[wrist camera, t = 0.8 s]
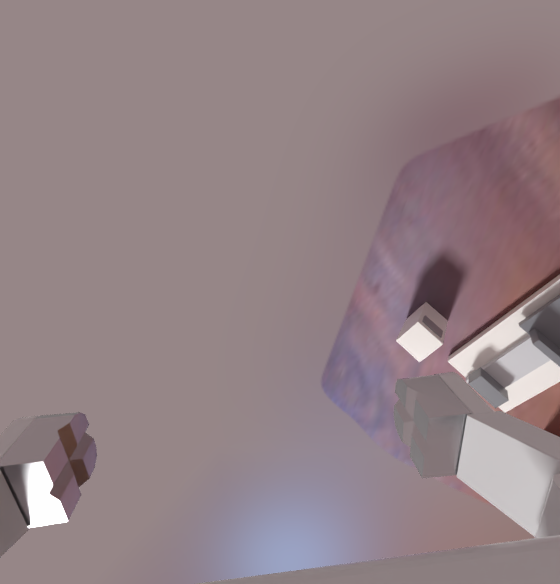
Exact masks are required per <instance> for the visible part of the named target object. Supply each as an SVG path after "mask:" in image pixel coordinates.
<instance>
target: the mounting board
mask: <svg viewBox="0 0 560 584" xmlns="http://www.w3.org/2000/svg"><path fill="white" fill-rule="evenodd" d="M559 294H560V274H559V275H558V276H557V277H555V278H554V279H553V280H551V281H550V282H549V283H547V284H546V285H544V286H543V287H542V288H540V289H539V290H538V291H536V292H535V293H534V294H532V295H531V296H530V297H528V298H527V299H526V300H524V301H523V302H522V303H520V304H519V305H517V306H516V307H515V308H513V309H512V310H511V311H509V312H508V313H507V314H505V315H504V316H503V317H501V318H500V319H499V320H497V321H496V322H495V323H493V324H492V325H490V326H489V327H488V328H486V329H485V330H484V331H482V332H481V333H480V334H478V335H477V336H476V337H474V338H473V339H472V340H470V341H469V342H468V343H466V344H465V345H463V346H462V347H461V348H459V349H458V350H457V351H455V352H454V353H453V354H451V355H450V356H449V357H448V362H449V363H450V364H451V365H452V366H453V367H455V368H456V369H457V370H458V371H459V372H460V373H461V374H462V375H463V376H465V377H468V376H469V375H470V374H471V373H472V372H474V371H475V370H477V369H478V368H480V367H482V366H484V365H485V364H487V363H488V362H490V361H491V360H493V359H494V358H496V357H497V356H499V355H500V354H502V353H503V352H504V351H506V350H507V349H509V348H510V347H512V346H513V345H515V344H516V343H518V342H519V341H521V340H522V339H524V338H525V337H527V336H528V335H529V334H528V333H527V332H526V331H524V330H523V329H522V328H521V327H520V326H519V324H518V323H519V322H521V321H522V320H524V319H525V318H526V317H528V316H529V315H531V314H532V313H533V312H535V311H536V310H538V309H539V308H540V307H542V306H543V305H545V304H546V303H548V302H549V301H550V300H552V299H553V298H555V297H556V296H557V295H559ZM558 382H560V367H559V366H558V365H557V364H556V363H554V362H553V361H552V360H550V361H548V362H547V363H545V364H543V365H542V366H540V367H538V368H537V369H535V370H533V371H532V372H530V373H529V374H527V375H525V376H524V377H522V378H520V379H519V380H517V381H515V382H514V383H512V384H511V385H509V386H507V387H506V388H505V389H506V390H507V391H508V399H509V401H507V402H505V403H504V404H502V405H500V406H498V407H499V408H500V409H501V410H502V411H504V412H507V411H509V410H510V409H512V408H514V407H516V406H517V405H519V404H521V403H523V402H525V401H526V400H528V399H530V398H532V397H533V396H535V395H537V394H539V393H540V392H542V391H544V390H546V389H547V388H549V387H551V386H553V385H555V384H556V383H558Z"/></svg>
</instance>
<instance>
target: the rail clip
mask: <svg viewBox="0 0 560 584" xmlns="http://www.w3.org/2000/svg"><path fill="white" fill-rule="evenodd" d="M518 324H519V326H520V327H521V328H522V329H523V330H524V331H526V332H527V333H528V334H529V335H528V336H527V337H525V338H524V339H522V340H521V341H519V342H518V343H516V344H515V345H513V346H512V347H510V348H509V349H507V350H506V351H504V352H503V353H502V354H500V355H499V356H497V357H496V358H494V359H493V360H491V361H490V362H488V363H487V364H485V365H484V366H482V367H480V368H478V369H477V370H475V371H474V372H472V373H471V374H470V375H469V376H468V377H466V382H467V383H468V384H469V385H470V386H471V387H472V388H474V389H475V390H476V391H477V392H478V393H479V394H480V395H481V396H482V397H484V398H485V399H486V400H487V401H488V402H489V403H490V404H491V405H492V406H494V407H495V408H497V407H498V406H500V405H502V404H504V403H505V402H507V401H509V399H508V391H507V390H506V389H505V388H506V387H507V386H509V385H511V384H512V383H514V382H515V381H517V380H519V379H520V378H522V377H524V376H525V375H527V374H529V373H530V372H532V371H533V370H535V369H537V368H538V367H540V366H542V365H543V364H545V363H547V362H548V361H550V360H552V361H553V362H554V363H556V364H557V365H558V366H559V367H560V294H559V295H557V296H556V297H555V298H553V299H552V300H550V301H549V302H548V303H546V304H545V305H543V306H542V307H540V308H539V309H538V310H536V311H535V312H533V313H532V314H531V315H529V316H528V317H526V318H525V319H524V320H522V321H521V322H519V323H518Z"/></svg>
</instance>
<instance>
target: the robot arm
mask: <svg viewBox="0 0 560 584" xmlns="http://www.w3.org/2000/svg"><path fill="white" fill-rule="evenodd" d="M395 393H396V394H397V396H398V397H399V400H398V402H397V403H396V404H395V405H394V420H395V426H396V429H397V432H398V435H399V437H400V438H401V440H402V442H403V443H405V444H406V445H408V446H409V447H411V449H410V457H411V459H412V461H413V463H414V464H415V466H416V468H417V470H418V472H419V473H420V475H421V477H422V478H430V477H441V476H452V475H457V478H459V479H460V480H461V481H463V482H464V483H465V484H467V485H468V486H469V487H471V488H472V489H473V490H474V491H476V492H477V493H478V494H480V495H481V496H482V497H484V498H485V499H486V500H488V501H489V502H490V503H491V504H493V505H494V506H495V507H497V508H498V509H499V510H501V511H502V512H503V513H505V514H506V515H507V516H508V517H510V518H511V519H513V520H514V521H515V522H516V523H518V524H519V525H520V526H522V527H523V528H524V529H525V530H527V531H528V532H529V533H531V534H532V535H533V536H535V538H533V539H526V540H518V541H511V542H504V543H496V544H488V545H481V546H473V547H466V548H458V549H451V550H444V551H436V552H428V553H421V554H414V555H406V556H399V557H392V558H385V559H377V560H370V561H362V562H355V563H347V564H340V565H333V566H325V567H318V568H311V569H304V570H296V571H289V572H281V573H273V574H267V575H258V576H251V577H244V578H237V579H229V580H221V581H214V582H206V583H199V584H560V437H558V436H556V435H554V434H552V433H549V432H547V431H545V430H543V429H540V428H538V427H536V426H533V425H531V424H529V423H527V422H524V421H522V420H520V419H518V418H515V417H513V416H511V415H508V414H506V413H504V412H502V411H496V412H494V411H493V410H492V409H491V408H490V407H489V406H488V405H487V404H486V402H485V401H484V400H483V399H482V398H481V397H480V396H479V395H478V394H477V393H476V392H475V391H474V390H473V389H472V388H471V387H470V386H469V385H468V384H467V383H466V382H465V381H464V380H463V379H462V378H461V377H460V376H459V375H458V374H457V373H454V372H448V373H441V374H434V375H430V376H421V377H412V378H403V379H398V380H397V382H396V387H395ZM88 426H89V424H88V421H87V418H86V416H85V414H83V413H80V412H78V413H66V414H54V415H42V416H33V417H22V418H18V419H16V420H14V421H12V422H11V424H10V425H9V426H8V427H7V428H6V429H5V430H4V431H3V432H2V434H1V435H0V557H1V556H2V555H3V554H4V553H5V552H6V551H7V550H8V549H9V548H10V547H11V546H13V545H14V544H15V543H16V542H17V541H18V540H19V539H20V538H21V537H22V536H23V535H24V534H25V533H26V532H27V531H28V530H29V528H28V527H34V526H42V525H48V524H55V523H61V522H68V521H69V518H70V517H71V514H72V513H73V511H74V509H75V507H76V504H77V503H78V501H79V499H80V496H81V492H80V489H79V487H80V486H81V485H82V484H83V483H85V482H86V481H87V480H88V479H89V478H90V476H91V474H92V472H93V470H94V468H95V463H96V457H97V453H96V445H95V441H94V439H93V438H92V437H91V436H89V435H88V434H87V433H85V432H86V430H87V428H88Z"/></svg>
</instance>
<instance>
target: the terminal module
mask: <svg viewBox="0 0 560 584" xmlns="http://www.w3.org/2000/svg"><path fill="white" fill-rule="evenodd" d="M447 322H448V320H446V319H445V318H444V317H443V316H442V315H441V314H440V313H438V312H437V311H436V310H435V309H434V308H433V307H431V306H430V305H429V304H428V303H427V302H425V303H424V304H423V305H422V306H420V307H419V308H418V309H417V310H416V311H415V312H414V313H413V314H411V315H410V316H409V317H408V318H407V319H406V321H405V323H404V325H403V327H402V329H401V331H400V333H399V335H398V337H397V340H396V341H397V342H398V343H399V344H400V345H401V346H402V347H403V348H405V349H406V350H407V351H408V352H409V353H410V354H411V355H412V356H413V357H414V358H415V359H417V360H418V361H419V362H421V361H422V360H423V359H424V358H426V357H427V356H428V355H430V354H431V353H432V352H434V351H435V350H436V349H437V348H439V347H440V346H441V345H443V342H444V337H445V332H446V327H447Z"/></svg>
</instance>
